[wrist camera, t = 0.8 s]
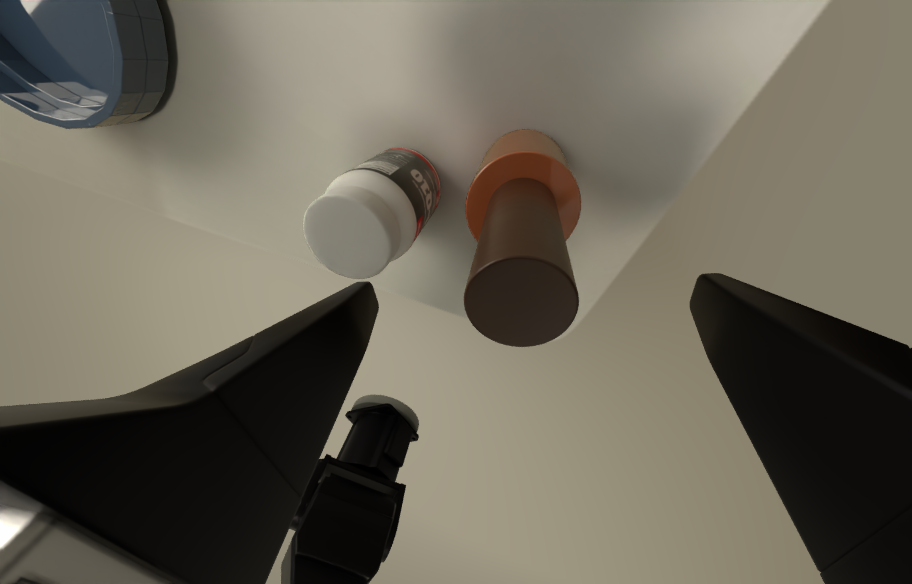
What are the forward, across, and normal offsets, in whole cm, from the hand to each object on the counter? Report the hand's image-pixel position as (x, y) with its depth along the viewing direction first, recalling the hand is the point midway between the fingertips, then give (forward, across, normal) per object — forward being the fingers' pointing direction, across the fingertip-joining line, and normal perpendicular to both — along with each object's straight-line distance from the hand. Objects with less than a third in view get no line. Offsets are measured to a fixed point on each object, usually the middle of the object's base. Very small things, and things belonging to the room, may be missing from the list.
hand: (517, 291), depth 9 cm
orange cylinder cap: (+12, 0, 0) cm, 12 cm away
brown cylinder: (+3, 0, 0) cm, 3 cm away
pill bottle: (+12, +7, 0) cm, 14 cm away
